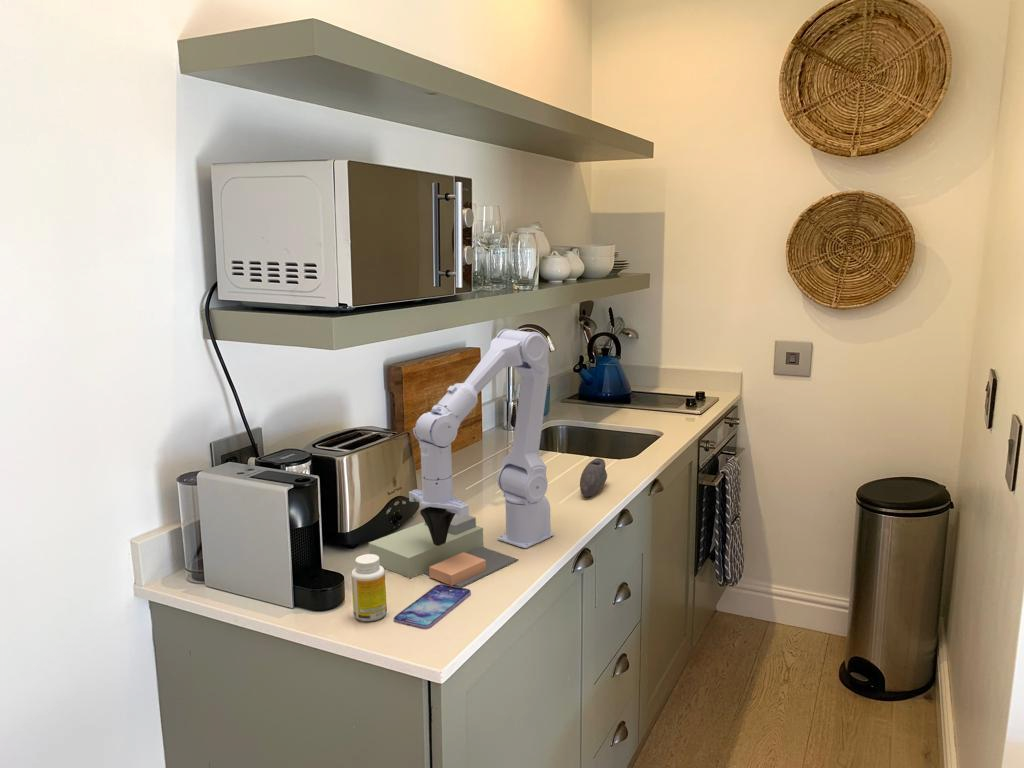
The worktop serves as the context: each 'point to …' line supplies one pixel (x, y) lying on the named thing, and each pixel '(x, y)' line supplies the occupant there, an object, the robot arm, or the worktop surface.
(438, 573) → the peach rectangular tile
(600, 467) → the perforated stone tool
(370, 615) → the supplement bottle
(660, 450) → the worktop surface
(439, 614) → the smartphone
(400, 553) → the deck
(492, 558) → the mat
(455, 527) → the slate gray rectangular block
